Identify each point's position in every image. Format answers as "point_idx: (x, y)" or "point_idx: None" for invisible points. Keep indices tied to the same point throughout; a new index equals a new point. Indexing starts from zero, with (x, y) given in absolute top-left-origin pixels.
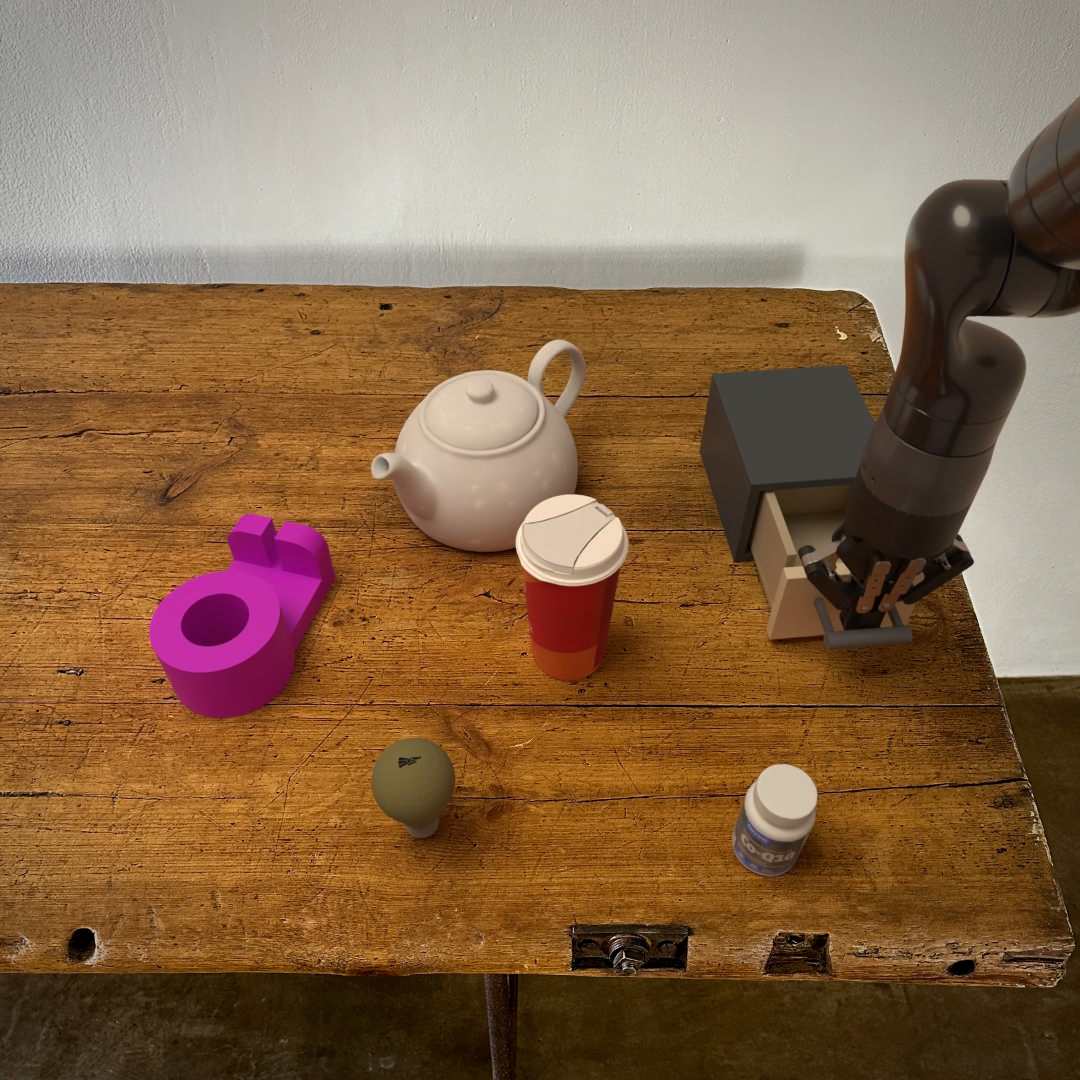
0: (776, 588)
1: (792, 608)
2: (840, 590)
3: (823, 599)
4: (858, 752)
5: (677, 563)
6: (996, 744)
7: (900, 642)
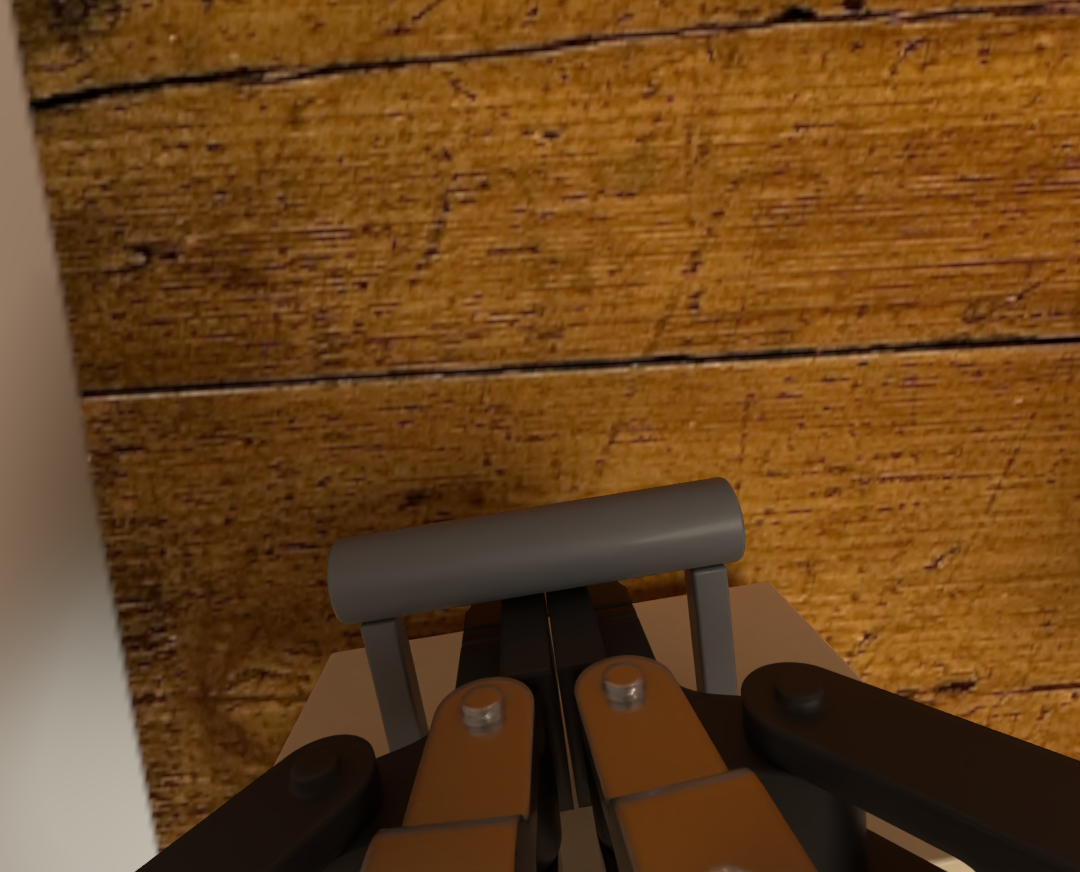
0: None
1: None
2: (991, 828)
3: None
4: (541, 193)
5: None
6: (83, 245)
7: (387, 533)
